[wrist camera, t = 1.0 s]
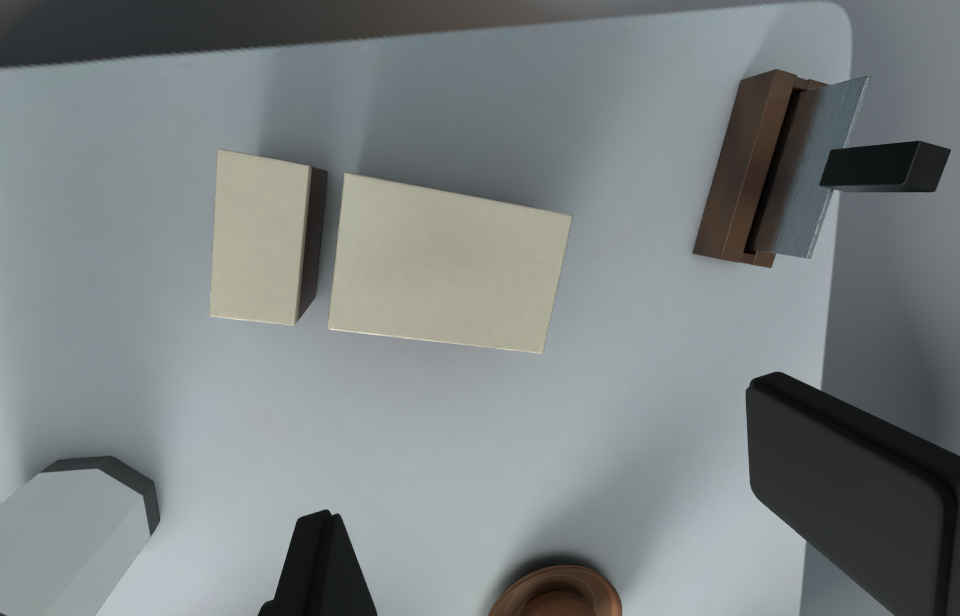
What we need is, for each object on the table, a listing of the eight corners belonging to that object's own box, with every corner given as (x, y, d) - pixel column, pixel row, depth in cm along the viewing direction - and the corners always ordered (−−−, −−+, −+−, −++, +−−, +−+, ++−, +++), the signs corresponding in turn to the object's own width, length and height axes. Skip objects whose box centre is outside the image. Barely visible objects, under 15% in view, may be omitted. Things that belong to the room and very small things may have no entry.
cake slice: (257, 158, 27) (217, 147, 20) (328, 171, 27) (309, 165, 21) (248, 289, 28) (208, 316, 22) (315, 298, 29) (294, 326, 23)
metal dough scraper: (749, 99, 31) (955, 45, 20) (773, 105, 32) (988, 56, 20) (709, 242, 33) (873, 268, 22) (731, 246, 34) (904, 274, 22)
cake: (355, 176, 28) (344, 171, 22) (537, 210, 30) (573, 215, 24) (340, 301, 30) (327, 329, 23) (515, 323, 32) (543, 354, 26)
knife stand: (740, 80, 31) (776, 68, 28) (791, 94, 32) (830, 84, 29) (692, 253, 33) (720, 259, 30) (740, 261, 34) (771, 268, 31)
